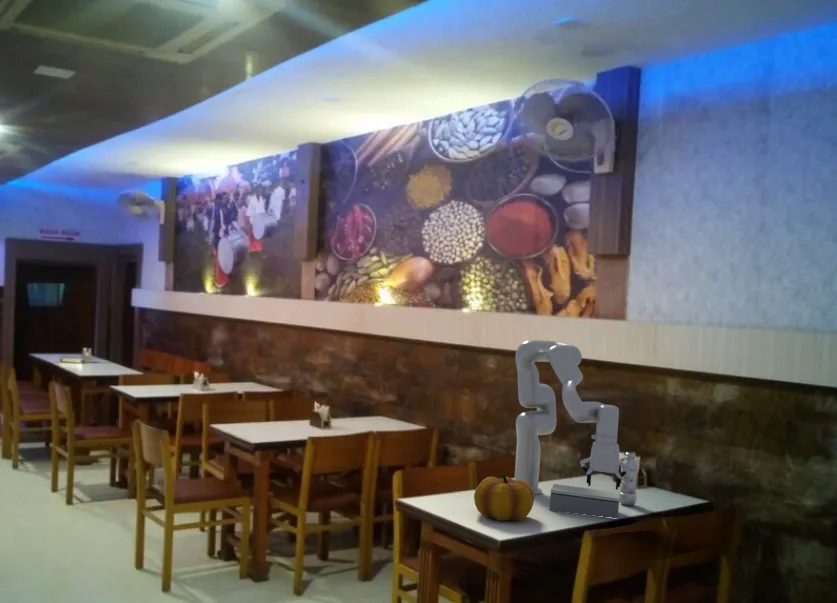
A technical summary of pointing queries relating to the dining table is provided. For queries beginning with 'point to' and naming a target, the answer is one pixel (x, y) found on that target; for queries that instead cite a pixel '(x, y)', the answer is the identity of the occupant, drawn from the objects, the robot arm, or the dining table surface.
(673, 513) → the dining table surface
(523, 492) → the decorative pumpkin
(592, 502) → the grey rectangular box
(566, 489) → the cover
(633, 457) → the plastic bottle
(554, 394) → the robot arm
